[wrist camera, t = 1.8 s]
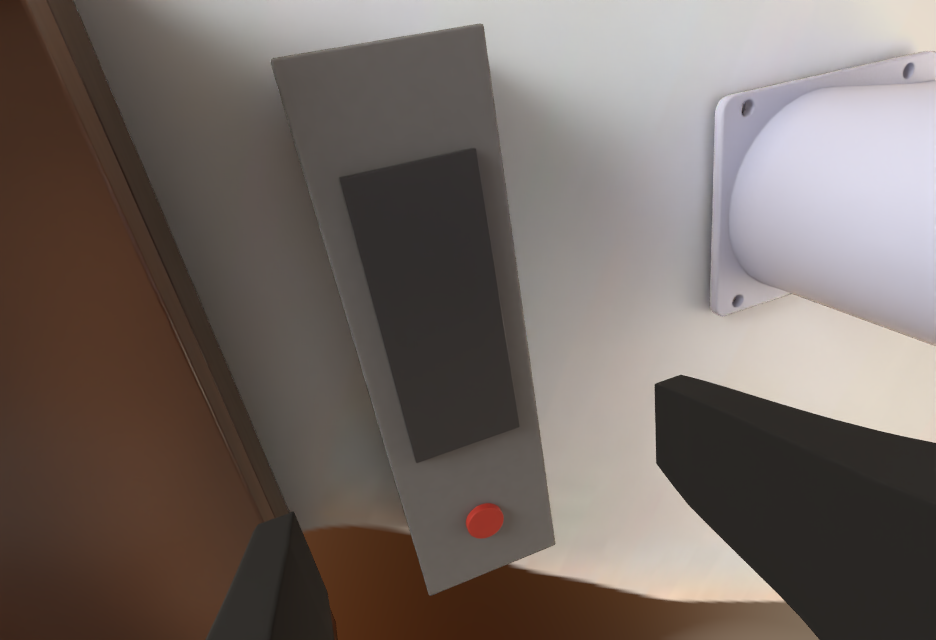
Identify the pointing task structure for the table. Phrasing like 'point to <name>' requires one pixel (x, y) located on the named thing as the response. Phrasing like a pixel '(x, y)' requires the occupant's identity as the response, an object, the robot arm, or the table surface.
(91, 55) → the wooden tray
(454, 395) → the remote
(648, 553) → the table surface
